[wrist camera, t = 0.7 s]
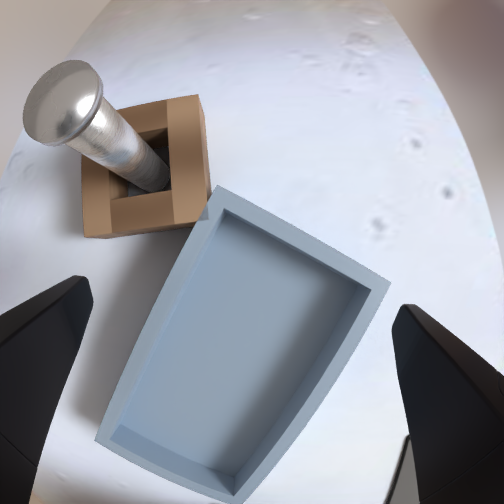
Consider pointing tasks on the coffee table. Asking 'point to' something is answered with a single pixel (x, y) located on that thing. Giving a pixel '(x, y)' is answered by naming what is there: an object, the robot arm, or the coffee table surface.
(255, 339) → the tray
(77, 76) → the metal pin
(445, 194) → the coffee table surface
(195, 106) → the pin block
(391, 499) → the smartphone
